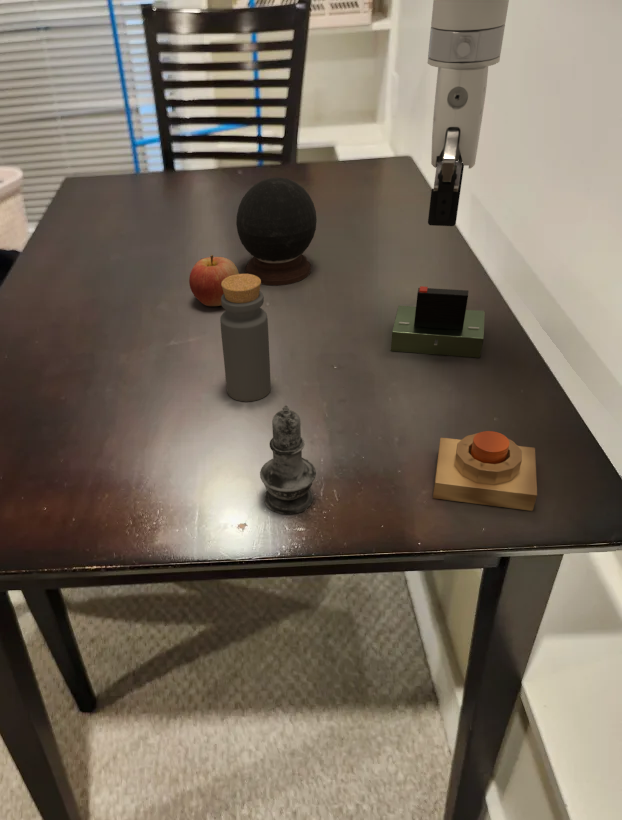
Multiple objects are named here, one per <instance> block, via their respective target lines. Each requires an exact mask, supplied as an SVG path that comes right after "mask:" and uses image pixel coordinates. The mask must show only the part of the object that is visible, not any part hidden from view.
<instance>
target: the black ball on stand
mask: <svg viewBox="0 0 622 820" xmlns="http://www.w3.org/2000/svg"><path fill="white" fill-rule="evenodd" d="M237 208H238V209H237V212H236V229H237V230H236V231H237V235H238V238H239V239H240V243H241V244H242V246H243V247H244V249H245V250H246V251H247V253H249V254H250V255H251V256H252V257H251V258H250V259H249V261H248V263H247V264H246V266H245V274H252V275H255V276H257V277H259V278H260V280H261V285H265V286H285V285H291V284H295V283H297V282H300V281H302V280H304V279H306V278H307V277H308V276H309V275H310V274H311V268H312V267H311V262H310V261H309V260H308V259H307V256H305V255H304V253H305V252H306V250H307V249H308V247H309V246H310V245H311V242H312V241H313V239H314V237H315V233H316V230H317V221H318V220H317V211H316V207H315V204H314V201H313V200H312V198H311V196H310V194H309V192H307V191H306V189H305V188H304V187H303V186H301V185H300V184H299V183H297V182H296V181H294V180H292V179H289V178H285V177H269V178H264V179H263V180H261V181H258V182H257V183H255V184H254V185H252V186H251V187H249V189H248V191H246V193H245V194H244V195H243V197H242V198H241V201H240V203H239V205H238V207H237Z"/></svg>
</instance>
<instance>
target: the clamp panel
mask: <svg viewBox="0 0 622 820" xmlns="http://www.w3.org/2000/svg"><path fill="white" fill-rule="evenodd" d="M415 311H416V306H411V305H398V307H397V311H396V314H395V317H394V322H393V326H392V327H393V328H392V330H391V341H390V352H398V353H413V354H425V355H437V356H450V357H462V358H473V359H475V358H476V359H480V358H481V354H482V348H483V343H484V338H485V337H484V336H485V334H484V332H485V317H486V316H485V313H486V312H485V310H474V309H466V313H465V319H464V325H463V330H454V329H440V328H426V327H414V321H415Z"/></svg>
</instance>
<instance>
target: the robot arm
mask: <svg viewBox="0 0 622 820" xmlns="http://www.w3.org/2000/svg"><path fill="white" fill-rule="evenodd" d="M509 3H510V0H432V13H431V21H430V32H429V42H428V51H427V52H428V53H427V62H426V63H427V64H428V65H429V66H431V67H435V68H437V75H436V84H435V95H434V105H433V118H432V131H431V133H432V134H431V162H430V163H431V165H432V167H434V169H435V175H434V182H433V183H434V184H433V188H431V190H430V191H431V192H430V200H429V209H428V218H427V224H428V226H433V227H434V226H439V227H454V226H456V224H457V217H458V211H459V204H460V196H461V189H462V182H463V177H464V167H466V166H468V169H472V168H474V167H475V165H476V159H477V153H478V149H479V142H480V141H479V140H480V134H481V128H482V123H483V115H484V108H485V102H486V93H487V88H488V87H487V86H488V75H489V67H491V66H494V65H496V64H499V63H500V59H501V53H502V47H503V41H504V34H505V27H506V21H507V16H508V8H509Z"/></svg>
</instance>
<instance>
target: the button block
mask: <svg viewBox="0 0 622 820" xmlns="http://www.w3.org/2000/svg"><path fill="white" fill-rule="evenodd" d="M478 433H479V432H477V433H473V434H467V435H466V436H464V437H463V438H462V439H459V438H458V439H457V438H449V437H440V438H439V445H438V450H437V459H436V467H435V476H434V485H433V491H432V492H433V494H432V499H435V500H443V501H451V502H460V503H468V504H475V505H483V506H490V507H499V508H504V509H505V508H506V509H512V510H513V509H514V510H521V511H530V512H533V511H534V507H535V505H536V501H537V499H538V498H537V497H538V484H537V481H538V480H537V464H536V463H537V462H536V447H531V446H522V445H517V443H515V441H514V440H512V439H510V438H508V440H509V443H510V444H509V449H508V453H507V457H506V459H505V461H504V462H502V463H498V464H488V463H482V462H480V461H478V460H476V459H474V458H473V457H472V455H471V448H472V443H473V438H474V436H475V435H476V434H478Z"/></svg>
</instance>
